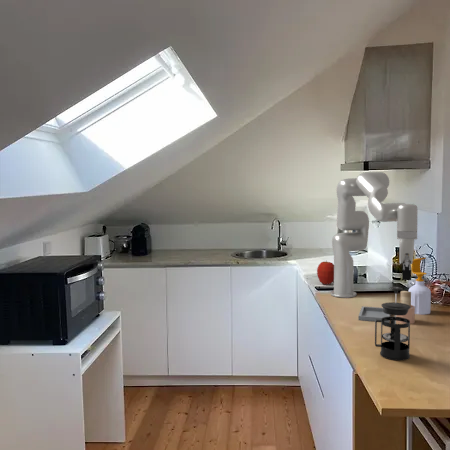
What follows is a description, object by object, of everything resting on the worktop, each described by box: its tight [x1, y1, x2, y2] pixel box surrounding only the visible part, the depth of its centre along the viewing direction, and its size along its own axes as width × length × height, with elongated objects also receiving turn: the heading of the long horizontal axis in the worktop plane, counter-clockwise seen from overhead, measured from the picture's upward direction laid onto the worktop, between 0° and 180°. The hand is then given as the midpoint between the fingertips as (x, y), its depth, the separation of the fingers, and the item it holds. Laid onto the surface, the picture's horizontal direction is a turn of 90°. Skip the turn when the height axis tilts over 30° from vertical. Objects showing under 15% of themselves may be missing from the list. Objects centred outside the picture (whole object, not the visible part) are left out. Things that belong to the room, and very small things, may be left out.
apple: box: [316, 260, 334, 285], centre depth 270 cm, size 10×10×14 cm
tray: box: [357, 305, 391, 323], centre depth 204 cm, size 16×12×2 cm
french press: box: [374, 286, 411, 362], centre depth 160 cm, size 12×9×23 cm
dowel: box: [399, 290, 411, 308], centre depth 196 cm, size 4×4×12 cm
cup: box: [396, 305, 416, 325], centre depth 196 cm, size 7×7×7 cm
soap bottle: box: [407, 257, 432, 316], centre depth 209 cm, size 9×9×25 cm
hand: (406, 277), depth 194 cm, fingers open, 9 cm apart
